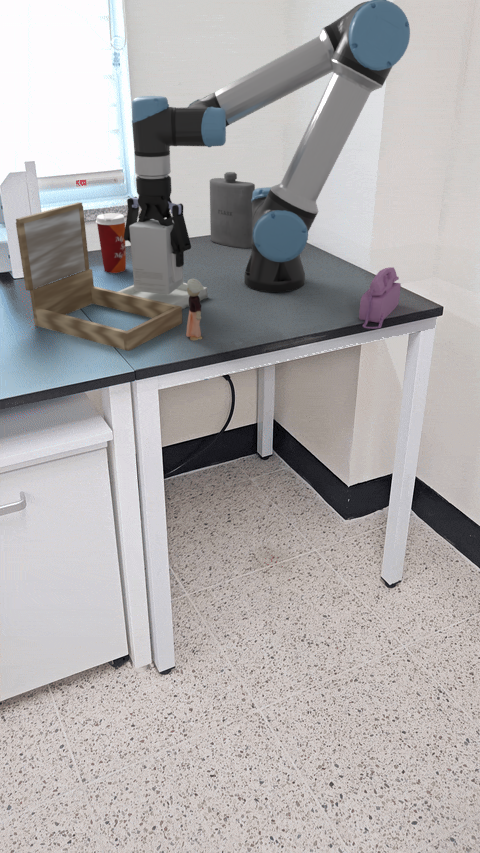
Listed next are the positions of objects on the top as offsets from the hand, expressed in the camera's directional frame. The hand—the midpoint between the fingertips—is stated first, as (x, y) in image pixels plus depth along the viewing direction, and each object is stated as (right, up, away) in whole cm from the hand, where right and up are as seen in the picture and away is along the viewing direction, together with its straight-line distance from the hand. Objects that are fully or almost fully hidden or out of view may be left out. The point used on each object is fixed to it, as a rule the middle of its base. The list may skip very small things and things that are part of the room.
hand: (158, 276), depth 166 cm
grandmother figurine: (+10, -17, -17) cm, 25 cm away
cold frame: (-10, -13, -10) cm, 19 cm away
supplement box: (0, -3, +1) cm, 3 cm away
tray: (0, -5, +3) cm, 6 cm away
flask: (+16, +19, +47) cm, 53 cm away
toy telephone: (+49, -10, -5) cm, 51 cm away
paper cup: (-14, +7, +24) cm, 29 cm away
